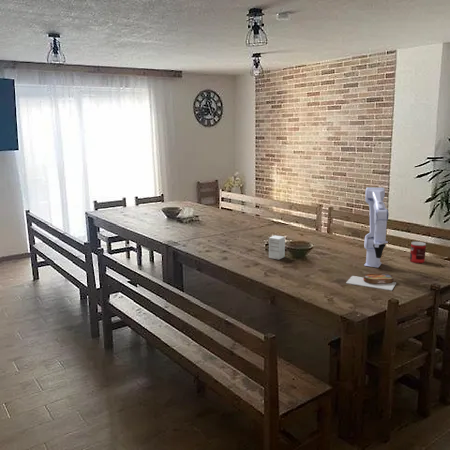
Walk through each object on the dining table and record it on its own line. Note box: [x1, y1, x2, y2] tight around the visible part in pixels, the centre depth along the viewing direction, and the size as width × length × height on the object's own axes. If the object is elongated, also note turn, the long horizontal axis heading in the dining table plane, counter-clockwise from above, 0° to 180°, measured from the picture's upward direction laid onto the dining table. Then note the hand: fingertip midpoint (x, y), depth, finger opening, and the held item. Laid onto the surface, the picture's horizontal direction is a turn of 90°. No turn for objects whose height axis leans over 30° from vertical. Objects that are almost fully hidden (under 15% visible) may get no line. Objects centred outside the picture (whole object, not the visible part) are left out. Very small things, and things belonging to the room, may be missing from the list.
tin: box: [363, 273, 395, 284], centre depth 227 cm, size 15×3×8 cm
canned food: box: [409, 241, 427, 264], centre depth 259 cm, size 8×8×11 cm
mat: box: [345, 275, 397, 292], centre depth 225 cm, size 12×22×1 cm, turn 60°
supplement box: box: [268, 235, 286, 260], centre depth 270 cm, size 7×7×13 cm
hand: (378, 257), depth 236 cm, fingers closed
